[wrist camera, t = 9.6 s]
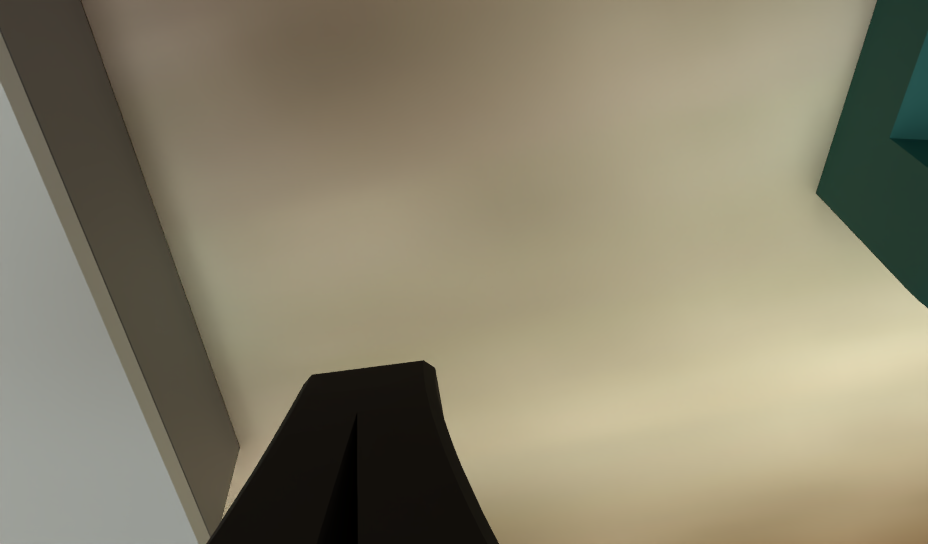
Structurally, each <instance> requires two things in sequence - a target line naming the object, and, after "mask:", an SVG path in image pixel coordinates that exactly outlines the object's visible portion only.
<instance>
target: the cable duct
mask: <svg viewBox="0 0 928 544" xmlns="http://www.w3.org/2000/svg"><path fill="white" fill-rule="evenodd" d="M0 33H1V35H2V37H3V40H4V42H5V45H6V47H7V49H8V52H9V54H10V57H11V59H12V61H13V64H14V66H15V69H16V71H17V73H18V76H19V78H20V81H21V83H22V85H23V88H24V90H25V93H26V95H27V98H28V100H29V102H30V105H31V107H32V110H33V112H34V114H35V117H36V119H37V122H38V124H39V126H40V129H41V131H42V134H43V136H44V138H45V141H46V143H47V146H48V148H49V151H50V153H51V155H52V158H53V160H54V163H55V165H56V167H57V170H58V172H59V175H60V177H61V179H62V182H63V184H64V187H65V189H66V191H67V194H68V196H69V199H70V201H71V204H72V206H73V208H74V211H75V213H76V216H77V218H78V220H79V223H80V225H81V228H82V230H83V232H84V235H85V237H86V240H87V242H88V244H89V247H90V249H91V252H92V254H93V257H94V259H95V261H96V264H97V266H98V269H99V271H100V273H101V276H102V278H103V281H104V283H105V285H106V288H107V290H108V293H109V295H110V297H111V300H112V302H113V305H114V307H115V310H116V312H117V314H118V317H119V319H120V322H121V324H122V326H123V329H124V331H125V334H126V336H127V338H128V341H129V343H130V346H131V348H132V350H133V353H134V355H135V358H136V360H137V363H138V365H139V367H140V370H141V372H142V375H143V377H144V379H145V382H146V384H147V387H148V389H149V391H150V394H151V396H152V399H153V401H154V403H155V406H156V408H157V411H158V413H159V416H160V418H161V420H162V423H163V425H164V428H165V430H166V432H167V435H168V437H169V440H170V442H171V444H172V447H173V449H174V452H175V454H176V456H177V459H178V461H179V464H180V466H181V469H182V471H183V473H184V476H185V478H186V481H187V483H188V485H189V488H190V490H191V493H192V495H193V497H194V500H195V502H196V505H197V507H198V509H199V512H200V514H201V517H202V519H203V522H204V524H205V526H206V529H207V531H208V534H209V536H210V537H211V536H212V534H213V533H214V531H215V530H216V528H217V527H218V525H219V524H220V522H221V520H222V516H223V512H224V508H225V504H226V500H227V496H228V492H229V488H230V484H231V480H232V476H233V472H234V468H235V464H236V460H237V456H238V452H239V448H240V447H239V444H238V441H237V438H236V436H235V433H234V430H233V427H232V424H231V422H230V419H229V416H228V413H227V410H226V408H225V405H224V402H223V399H222V396H221V394H220V391H219V388H218V385H217V382H216V380H215V377H214V374H213V371H212V368H211V366H210V363H209V360H208V357H207V354H206V352H205V349H204V346H203V343H202V340H201V338H200V335H199V332H198V329H197V326H196V324H195V321H194V318H193V315H192V312H191V309H190V307H189V304H188V301H187V298H186V295H185V293H184V290H183V287H182V284H181V281H180V279H179V276H178V273H177V270H176V267H175V265H174V262H173V259H172V256H171V253H170V251H169V248H168V245H167V242H166V239H165V237H164V234H163V231H162V228H161V225H160V223H159V220H158V217H157V214H156V211H155V209H154V206H153V203H152V200H151V197H150V195H149V192H148V189H147V186H146V183H145V181H144V178H143V175H142V172H141V169H140V167H139V164H138V161H137V158H136V155H135V153H134V150H133V147H132V144H131V141H130V138H129V136H128V133H127V130H126V127H125V124H124V122H123V119H122V116H121V113H120V110H119V108H118V105H117V102H116V99H115V96H114V94H113V91H112V88H111V85H110V82H109V80H108V77H107V74H106V71H105V68H104V66H103V63H102V60H101V57H100V54H99V52H98V49H97V46H96V43H95V40H94V38H93V35H92V32H91V29H90V26H89V24H88V21H87V18H86V15H85V12H84V10H83V7H82V4H81V1H80V0H0Z"/></svg>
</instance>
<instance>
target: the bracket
mask: <svg viewBox="0 0 928 544" xmlns="http://www.w3.org/2000/svg"><path fill="white" fill-rule="evenodd" d="M816 194H817V195H818V196H819V197H820V198H821V199H822V200H823V201H824V202H825V203H826V204H827V205H828V206H829V207H830V208H831V210H832V211H833V212H834V213H835V214H836V215H837V216H838V217H839V218H840V219H841V220H842V221H843V222H844V223H845V224H846V225H847V226H848V228H849V229H850V230H851V231H852V232H853V233H854V234H855V235H856V236H857V237H858V238H859V239H860V240H861V241H862V242H863V243H864V244H865V245H866V247H867V248H868V249H869V250H870V251H871V252H872V253H873V254H874V255H875V256H876V257H877V258H878V259H879V260H880V261H881V262H882V263H883V264H884V266H885V267H886V268H887V269H888V270H889V271H890V272H891V273H892V274H893V275H894V276H895V277H896V278H897V279H898V280H899V281H900V282H901V283H902V285H903V286H904V287H905V288H906V289H907V290H908V291H909V292H910V293H911V294H912V295H913V296H914V297H915V298H917V299H918V300H919V301H920V302H921V303H922V304H923V305H925V306H926V307H927V308H928V0H877V3H876V6H875V9H874V12H873V15H872V19H871V22H870V25H869V28H868V31H867V34H866V37H865V41H864V44H863V47H862V50H861V53H860V56H859V59H858V63H857V66H856V69H855V72H854V75H853V78H852V81H851V84H850V88H849V91H848V94H847V97H846V100H845V103H844V106H843V110H842V113H841V116H840V119H839V122H838V125H837V128H836V132H835V135H834V138H833V141H832V144H831V147H830V150H829V153H828V157H827V160H826V163H825V166H824V169H823V172H822V175H821V179H820V182H819V185H818V188H817V191H816Z"/></svg>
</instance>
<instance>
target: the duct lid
mask: <svg viewBox="0 0 928 544" xmlns="http://www.w3.org/2000/svg"><path fill="white" fill-rule="evenodd" d="M209 539H210V536H209V534H208V531H207V529H206V526H205V524H204V522H203V519H202V517H201V514H200V512H199V509H198V507H197V505H196V502H195V500H194V497H193V495H192V493H191V490H190V488H189V485H188V483H187V481H186V478H185V476H184V473H183V471H182V469H181V466H180V464H179V461H178V459H177V456H176V454H175V452H174V449H173V447H172V444H171V442H170V440H169V437H168V435H167V432H166V430H165V428H164V425H163V423H162V420H161V418H160V416H159V413H158V411H157V408H156V406H155V403H154V401H153V399H152V396H151V394H150V391H149V389H148V387H147V384H146V382H145V379H144V377H143V375H142V372H141V370H140V367H139V365H138V363H137V360H136V358H135V355H134V353H133V350H132V348H131V346H130V343H129V341H128V338H127V336H126V334H125V331H124V329H123V326H122V324H121V322H120V319H119V317H118V314H117V312H116V310H115V307H114V305H113V302H112V300H111V297H110V295H109V293H108V290H107V288H106V285H105V283H104V281H103V278H102V276H101V273H100V271H99V269H98V266H97V264H96V261H95V259H94V257H93V254H92V252H91V249H90V247H89V244H88V242H87V240H86V237H85V235H84V232H83V230H82V228H81V225H80V223H79V220H78V218H77V216H76V213H75V211H74V208H73V206H72V204H71V201H70V199H69V196H68V194H67V191H66V189H65V187H64V184H63V182H62V179H61V177H60V175H59V172H58V170H57V167H56V165H55V163H54V160H53V158H52V155H51V153H50V151H49V148H48V146H47V143H46V141H45V138H44V136H43V134H42V131H41V129H40V126H39V124H38V122H37V119H36V117H35V114H34V112H33V110H32V107H31V105H30V102H29V100H28V98H27V95H26V93H25V90H24V88H23V85H22V83H21V81H20V78H19V76H18V73H17V71H16V69H15V66H14V64H13V61H12V59H11V57H10V54H9V52H8V49H7V47H6V45H5V42H4V40H3V37H2V35H1V33H0V544H206V543H207V542H208V540H209Z"/></svg>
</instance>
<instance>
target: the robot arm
mask: <svg viewBox="0 0 928 544" xmlns="http://www.w3.org/2000/svg"><path fill="white" fill-rule="evenodd" d="M206 544H499V543H498V541H497V539H496V537H495V535H494V533H493V531H492V529H491V528H490V526H489V524H488V522H487V520H486V518H485V516H484V514H483V512H482V510H481V507H480V505H479V503H478V501H477V499H476V496H475V494H474V492H473V490H472V488H471V486H470V483H469V481H468V479H467V477H466V475H465V473H464V470H463V468H462V466H461V463H460V461H459V459H458V456H457V454H456V451H455V449H454V446H453V443H452V440H451V438H450V435H449V432H448V429H447V426H446V423H445V420H444V416H443V410H442V404H441V399H440V393H439V387H438V381H437V376H436V370H435V368H434V367H433V366H431V365H430V364H428V363H427V362H425V361H424V360H423V361H416V362H408V363H400V364H392V365H384V366H377V367H369V368H361V369H353V370H345V371H338V372H330V373H322V374H314V375H311V377H310V378H309V379H308V380H307V381H306V382H305V384H304V385H303V387H302V389H301V390H300V392H299V394H298V396H297V397H296V399H295V401H294V403H293V405H292V406H291V408H290V410H289V412H288V413H287V415H286V417H285V419H284V420H283V422H282V424H281V426H280V427H279V429H278V431H277V432H276V434H275V436H274V438H273V439H272V441H271V443H270V444H269V446H268V448H267V449H266V451H265V453H264V454H263V456H262V458H261V459H260V461H259V463H258V464H257V466H256V468H255V469H254V471H253V472H252V474H251V476H250V477H249V479H248V480H247V482H246V483H245V485H244V486H243V488H242V490H241V491H240V493H239V494H238V496H237V497H236V499H235V500H234V502H233V504H232V505H231V507H230V508H229V510H228V511H227V513H226V514H225V516H224V518H223V519H222V521H221V522H220V524H219V525H218V527H217V528H216V530H215V531H214V533H213V534H212V536H211V537H210V539H209V540H208V542H207V543H206Z"/></svg>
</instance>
